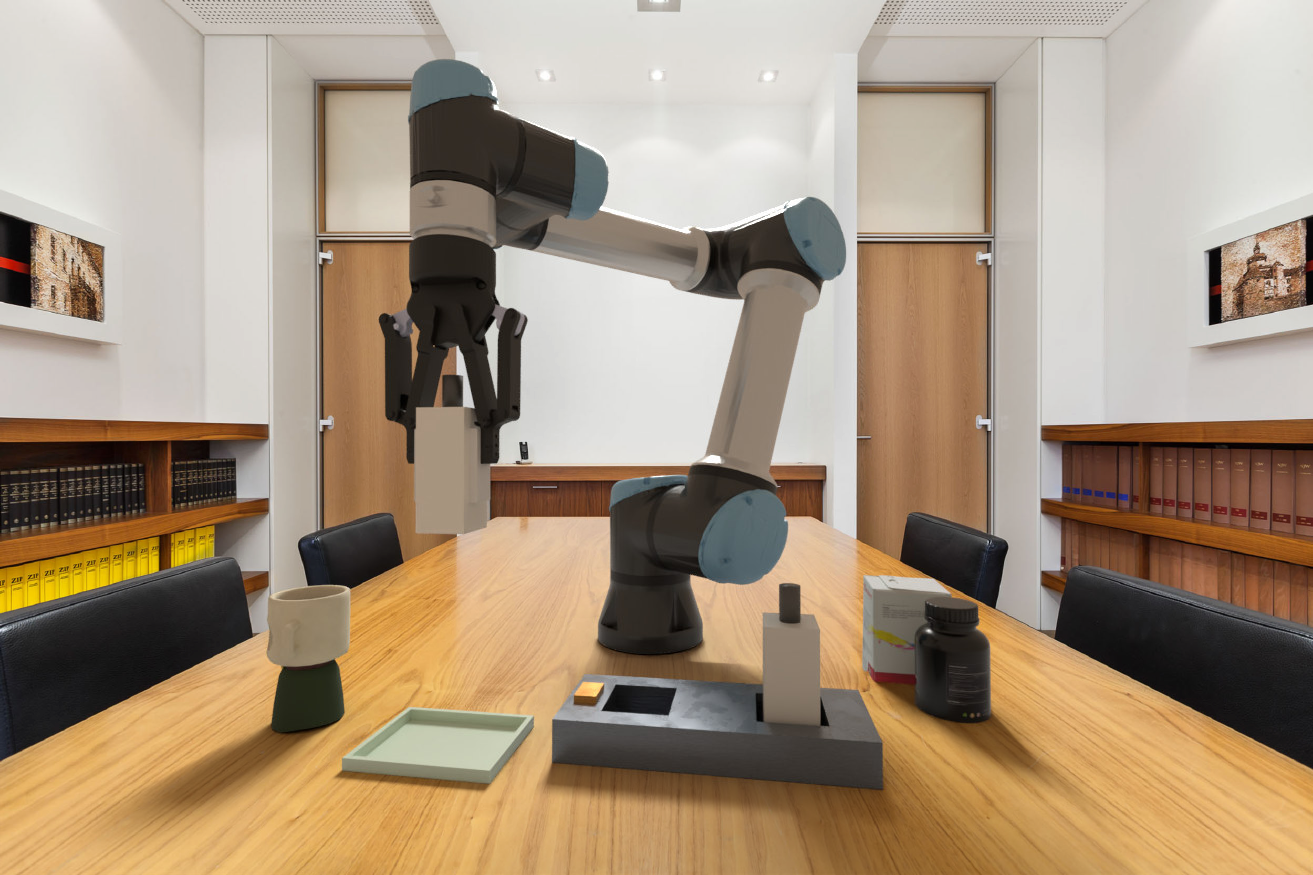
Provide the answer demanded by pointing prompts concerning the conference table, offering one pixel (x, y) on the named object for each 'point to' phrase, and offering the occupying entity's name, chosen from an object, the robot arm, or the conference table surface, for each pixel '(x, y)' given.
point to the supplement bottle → (952, 662)
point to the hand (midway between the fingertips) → (452, 500)
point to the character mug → (308, 654)
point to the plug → (446, 465)
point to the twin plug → (791, 662)
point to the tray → (441, 745)
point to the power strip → (715, 732)
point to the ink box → (894, 624)
